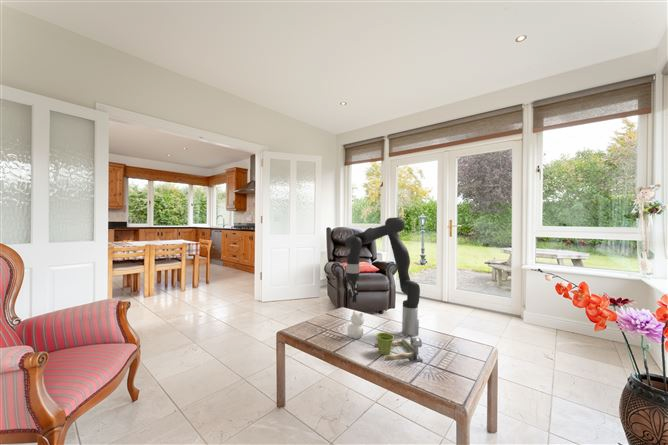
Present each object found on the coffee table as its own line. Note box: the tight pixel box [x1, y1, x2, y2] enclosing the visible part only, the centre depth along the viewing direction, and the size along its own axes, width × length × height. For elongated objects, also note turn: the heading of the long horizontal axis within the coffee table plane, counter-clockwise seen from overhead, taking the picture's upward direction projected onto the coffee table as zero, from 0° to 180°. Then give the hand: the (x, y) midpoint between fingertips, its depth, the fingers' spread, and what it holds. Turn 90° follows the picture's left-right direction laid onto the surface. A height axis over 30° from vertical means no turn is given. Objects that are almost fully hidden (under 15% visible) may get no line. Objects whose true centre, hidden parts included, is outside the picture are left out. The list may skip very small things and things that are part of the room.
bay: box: [374, 338, 419, 361], centre depth 143 cm, size 18×15×3 cm
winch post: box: [407, 335, 424, 363], centre depth 135 cm, size 7×5×13 cm
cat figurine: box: [347, 310, 365, 340], centre depth 160 cm, size 9×12×15 cm
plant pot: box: [375, 332, 395, 356], centre depth 142 cm, size 9×9×9 cm
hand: (352, 300), depth 150 cm, fingers open, 8 cm apart
